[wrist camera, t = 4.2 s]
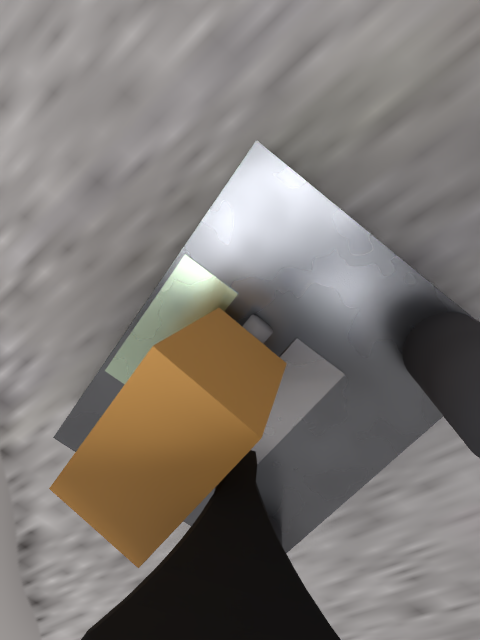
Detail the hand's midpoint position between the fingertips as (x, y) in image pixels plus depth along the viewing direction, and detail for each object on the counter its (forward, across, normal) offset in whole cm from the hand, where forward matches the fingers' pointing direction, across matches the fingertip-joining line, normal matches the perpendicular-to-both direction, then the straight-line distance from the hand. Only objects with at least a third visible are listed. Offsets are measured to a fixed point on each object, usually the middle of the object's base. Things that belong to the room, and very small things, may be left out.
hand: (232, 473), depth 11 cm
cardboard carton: (+4, +1, -1) cm, 4 cm away
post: (+4, -7, -4) cm, 9 cm away
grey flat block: (+6, -1, 0) cm, 7 cm away
